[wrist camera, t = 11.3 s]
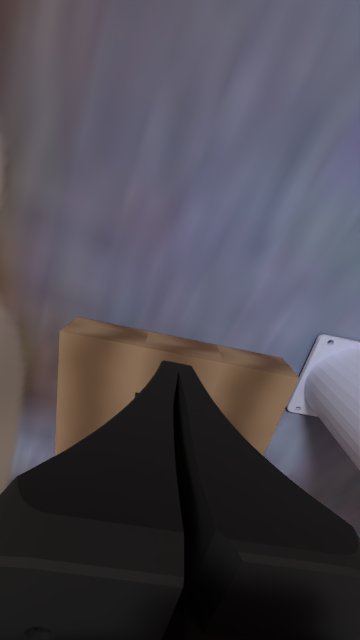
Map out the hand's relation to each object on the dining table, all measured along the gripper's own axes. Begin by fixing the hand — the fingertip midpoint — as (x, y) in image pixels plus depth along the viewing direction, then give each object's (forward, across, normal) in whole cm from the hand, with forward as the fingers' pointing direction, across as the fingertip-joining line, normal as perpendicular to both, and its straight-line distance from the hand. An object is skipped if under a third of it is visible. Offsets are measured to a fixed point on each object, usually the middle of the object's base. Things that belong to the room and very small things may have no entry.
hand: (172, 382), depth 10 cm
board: (+9, -1, +9) cm, 13 cm away
